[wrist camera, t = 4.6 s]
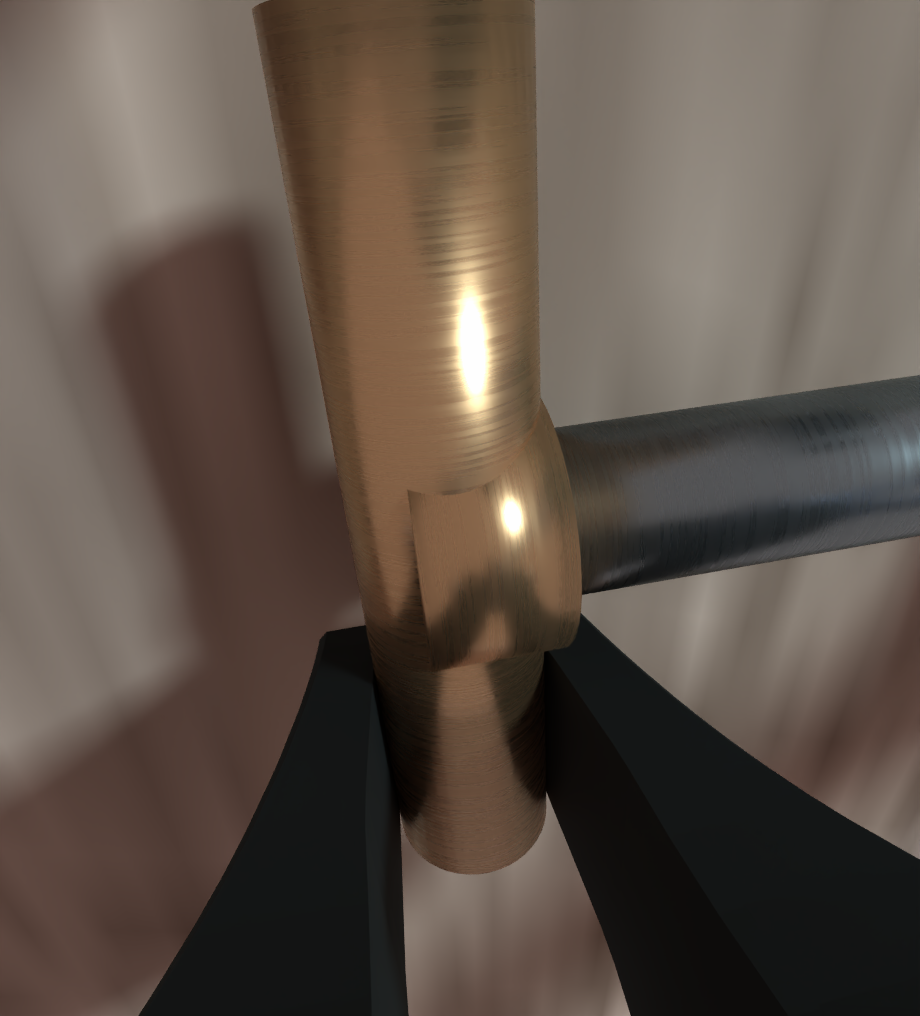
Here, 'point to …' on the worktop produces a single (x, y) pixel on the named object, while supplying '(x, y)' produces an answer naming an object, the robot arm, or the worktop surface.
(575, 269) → the worktop surface
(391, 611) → the t-handle rod
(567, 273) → the worktop surface
